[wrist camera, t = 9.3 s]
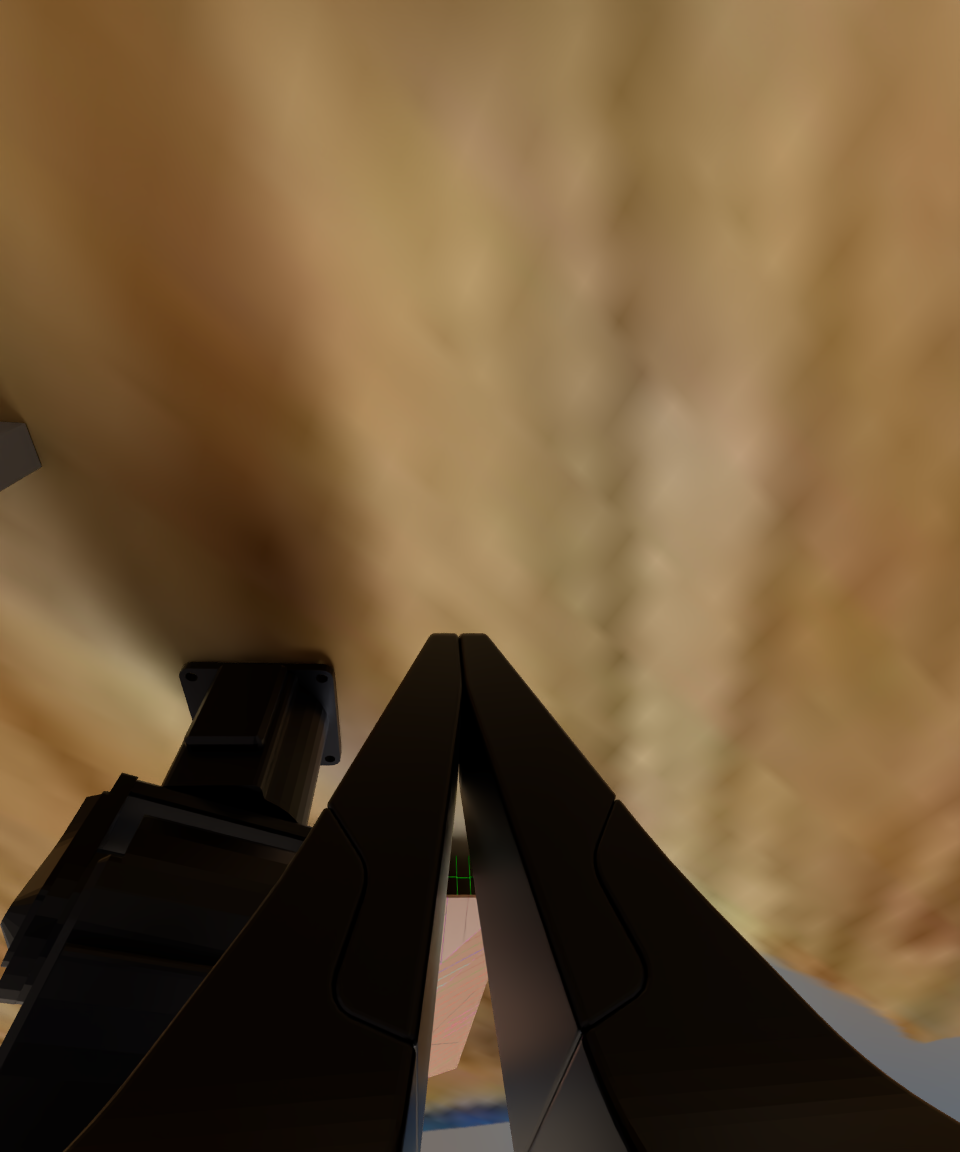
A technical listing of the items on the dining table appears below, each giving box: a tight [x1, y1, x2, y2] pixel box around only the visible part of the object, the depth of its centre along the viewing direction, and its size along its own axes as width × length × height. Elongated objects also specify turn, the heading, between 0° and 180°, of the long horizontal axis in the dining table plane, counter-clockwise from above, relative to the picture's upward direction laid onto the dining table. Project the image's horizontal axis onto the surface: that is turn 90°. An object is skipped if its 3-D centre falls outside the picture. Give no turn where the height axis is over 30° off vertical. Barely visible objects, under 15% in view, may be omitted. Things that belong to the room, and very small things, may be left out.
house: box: [428, 856, 488, 1078], centre depth 37 cm, size 23×33×8 cm
